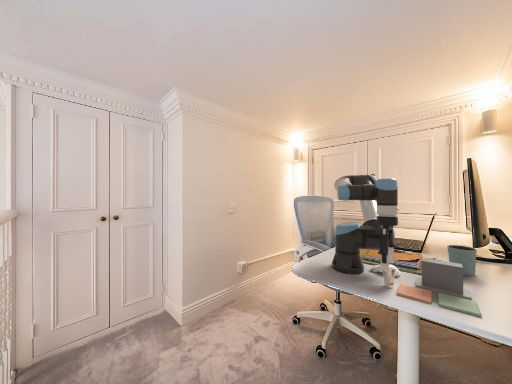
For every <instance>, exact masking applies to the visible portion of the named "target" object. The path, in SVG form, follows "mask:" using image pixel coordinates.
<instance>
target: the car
mask: <svg viewBox="0 0 512 384" xmlns="http://www.w3.org/2000/svg"><path fill="white" fill-rule="evenodd" d="M392 265H393V266H394V267H395V273H394V278H396V277H399V276H400V275H401V271H400V270H399V269H398V268H397V267H396V266H395V265H394V264H392ZM370 271H372V272H373V273H378V272H379V273H381V274H383V271H381V265H380V264H378V265H377V264H375V265H373V266H371V267H370Z"/></svg>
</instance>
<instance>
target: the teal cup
mask: <svg viewBox="0 0 512 384" xmlns="http://www.w3.org/2000/svg"><path fill="white" fill-rule="evenodd" d="M446 248H447V253H448V262H452V263H459V264H462V266H463V276H468V277H469V276H471V277H472V276H473V277H474V276H475V275H476V266H477V264H476V263H477V252H478V251H477V248H476V247H471V246H466V245H457V244H448V245H447V247H446Z"/></svg>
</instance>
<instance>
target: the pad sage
mask: <svg viewBox="0 0 512 384" xmlns="http://www.w3.org/2000/svg"><path fill="white" fill-rule="evenodd" d="M437 294H438V306H439V307H442V308H445V309H450V310H453V311H456V312H457V311H458V312H461V313H465V314H468V315H472V316H476V317H478V318H479V317H480V318H482V317H483V316H482V312H481V309H480V307H479V304H478V302H477V301H476V300H473V299H472V300H468V299H464V298H459V297H455V296H451V295H447V294H442V293H438V292H437Z"/></svg>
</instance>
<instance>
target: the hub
mask: <svg viewBox="0 0 512 384" xmlns="http://www.w3.org/2000/svg"><path fill="white" fill-rule="evenodd" d="M415 287H417V288H421V289H425V290H430V291H432V292H434V293H437V294H438V293H442V294H447V295H451V296H455V297H459V298H464V299H468V300H472V301H473V299H472V295H471V292H470V290H469V289H468V288H464V275H463V266H462V264H459V263H452V262H449V261H447V260H440V259H439V260H434V259H430V258H427V257H422V258H421V278H416V281H415Z"/></svg>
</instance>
